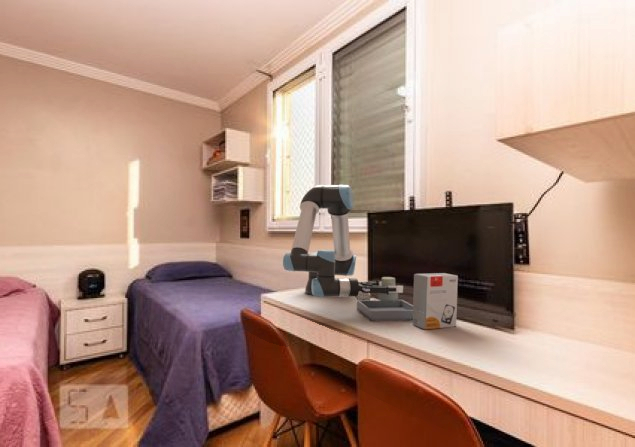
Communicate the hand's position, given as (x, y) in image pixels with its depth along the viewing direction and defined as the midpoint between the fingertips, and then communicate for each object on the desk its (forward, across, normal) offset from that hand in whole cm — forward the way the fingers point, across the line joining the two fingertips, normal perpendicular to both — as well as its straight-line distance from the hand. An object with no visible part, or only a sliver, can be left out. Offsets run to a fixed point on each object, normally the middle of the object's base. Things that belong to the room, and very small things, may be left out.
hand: (397, 287), depth 148 cm
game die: (-9, -19, -12) cm, 24 cm away
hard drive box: (+8, +18, -12) cm, 23 cm away
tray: (-4, 0, -12) cm, 13 cm away
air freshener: (-4, 0, -6) cm, 8 cm away
